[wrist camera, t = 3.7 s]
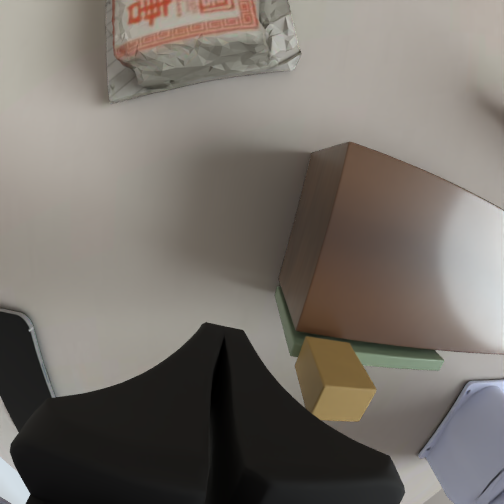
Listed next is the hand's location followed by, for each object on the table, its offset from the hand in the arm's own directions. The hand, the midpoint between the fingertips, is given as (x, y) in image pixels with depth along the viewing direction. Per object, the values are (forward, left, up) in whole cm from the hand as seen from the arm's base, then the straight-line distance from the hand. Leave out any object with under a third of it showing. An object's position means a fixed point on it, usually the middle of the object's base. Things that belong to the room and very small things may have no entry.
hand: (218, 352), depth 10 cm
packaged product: (+18, +7, -8) cm, 21 cm away
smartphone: (-14, +15, -7) cm, 22 cm away
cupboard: (+4, -10, -7) cm, 13 cm away
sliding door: (0, -6, -7) cm, 10 cm away
